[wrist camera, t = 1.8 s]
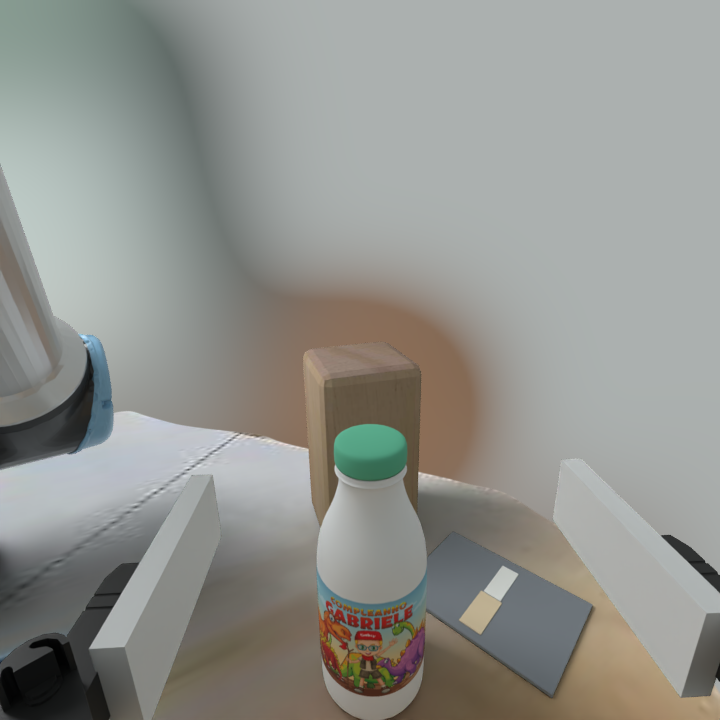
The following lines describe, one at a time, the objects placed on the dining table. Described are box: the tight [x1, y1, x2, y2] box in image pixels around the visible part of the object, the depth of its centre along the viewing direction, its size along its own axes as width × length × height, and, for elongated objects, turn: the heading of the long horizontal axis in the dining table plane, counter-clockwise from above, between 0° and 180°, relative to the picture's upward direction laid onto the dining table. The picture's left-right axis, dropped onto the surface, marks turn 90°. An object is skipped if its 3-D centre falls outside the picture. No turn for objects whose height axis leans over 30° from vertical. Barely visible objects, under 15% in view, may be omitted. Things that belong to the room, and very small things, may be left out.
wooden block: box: [303, 342, 421, 528], centre depth 45 cm, size 10×10×20 cm
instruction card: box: [426, 532, 592, 698], centre depth 38 cm, size 14×10×1 cm
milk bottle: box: [317, 424, 427, 720], centre depth 29 cm, size 8×8×20 cm
